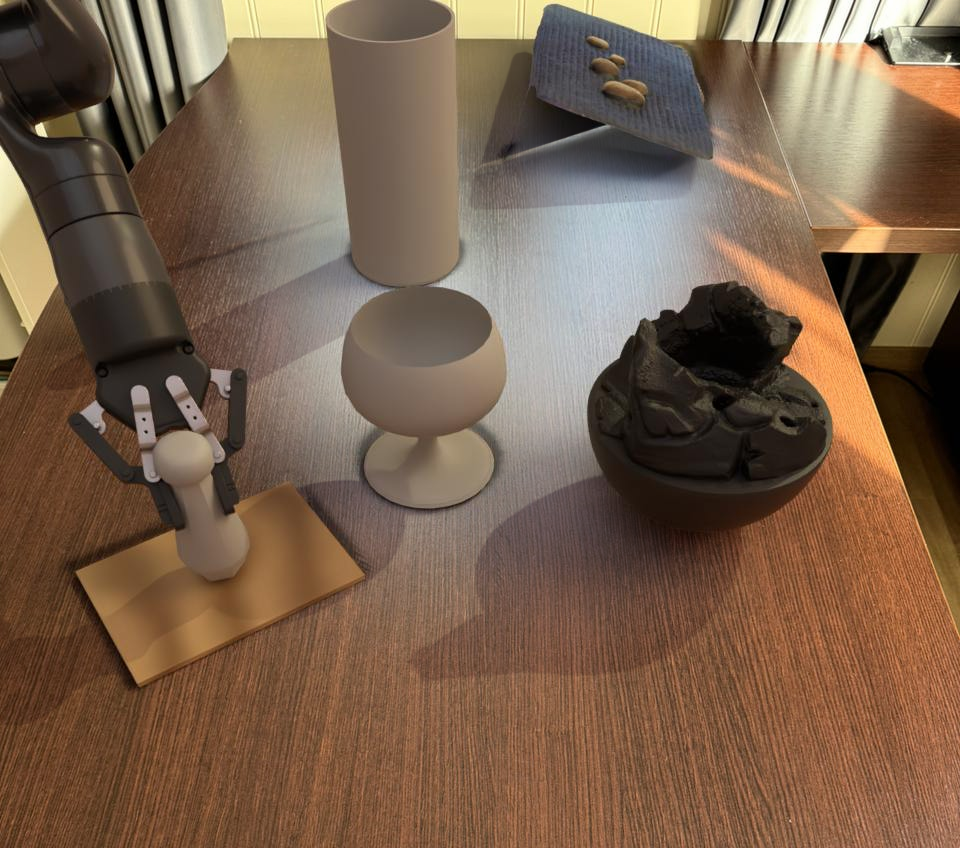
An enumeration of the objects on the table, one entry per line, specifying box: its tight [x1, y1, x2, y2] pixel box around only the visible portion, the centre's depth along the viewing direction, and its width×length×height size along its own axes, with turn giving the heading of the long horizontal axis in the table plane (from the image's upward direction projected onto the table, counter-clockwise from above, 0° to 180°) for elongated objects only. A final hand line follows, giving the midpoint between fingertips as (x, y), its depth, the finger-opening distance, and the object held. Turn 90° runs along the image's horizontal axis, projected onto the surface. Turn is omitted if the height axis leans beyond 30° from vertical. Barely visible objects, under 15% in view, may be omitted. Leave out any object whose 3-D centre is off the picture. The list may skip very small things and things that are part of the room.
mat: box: [503, 3, 714, 161], centre depth 134 cm, size 45×27×12 cm, turn 177°
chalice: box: [340, 285, 508, 509], centre depth 81 cm, size 14×14×15 cm
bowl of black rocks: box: [586, 280, 834, 533], centre depth 77 cm, size 20×20×19 cm
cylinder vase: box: [324, 0, 460, 288], centre depth 99 cm, size 12×12×25 cm
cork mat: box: [75, 480, 366, 688], centre depth 78 cm, size 20×14×1 cm
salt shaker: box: [152, 430, 250, 581], centre depth 72 cm, size 6×6×13 cm
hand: (205, 520), depth 71 cm, fingers closed on salt shaker, 3 cm apart
